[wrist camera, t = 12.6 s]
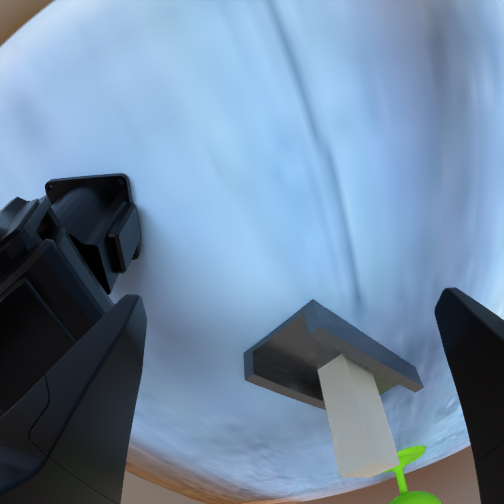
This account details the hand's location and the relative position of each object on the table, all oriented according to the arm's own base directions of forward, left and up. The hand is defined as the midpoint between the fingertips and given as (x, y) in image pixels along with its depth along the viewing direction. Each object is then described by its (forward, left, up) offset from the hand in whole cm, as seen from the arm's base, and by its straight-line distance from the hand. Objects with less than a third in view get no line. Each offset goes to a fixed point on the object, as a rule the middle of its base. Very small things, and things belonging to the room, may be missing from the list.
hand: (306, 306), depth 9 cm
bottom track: (+9, -22, -13) cm, 27 cm away
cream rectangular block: (+9, -22, -12) cm, 27 cm away
